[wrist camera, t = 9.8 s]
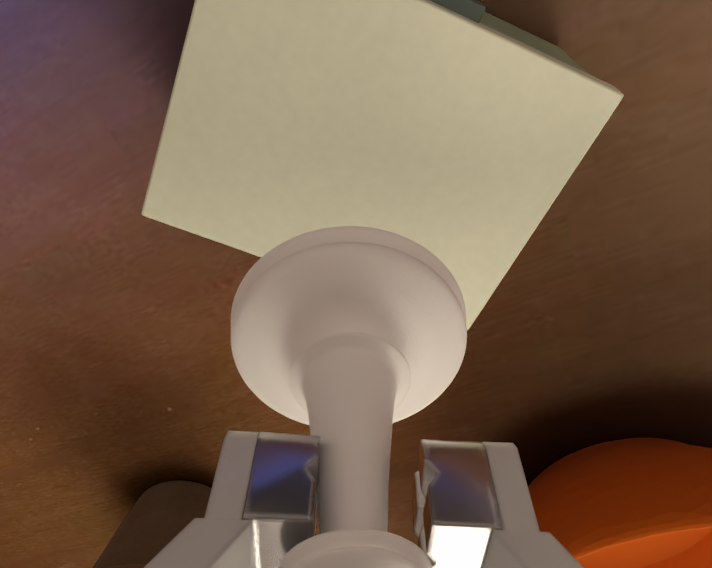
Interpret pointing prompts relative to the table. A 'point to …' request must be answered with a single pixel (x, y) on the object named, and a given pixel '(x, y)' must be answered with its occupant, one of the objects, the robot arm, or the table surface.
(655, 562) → the bowl
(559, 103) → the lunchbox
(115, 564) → the flower pot
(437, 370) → the chess piece
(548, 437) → the table surface
